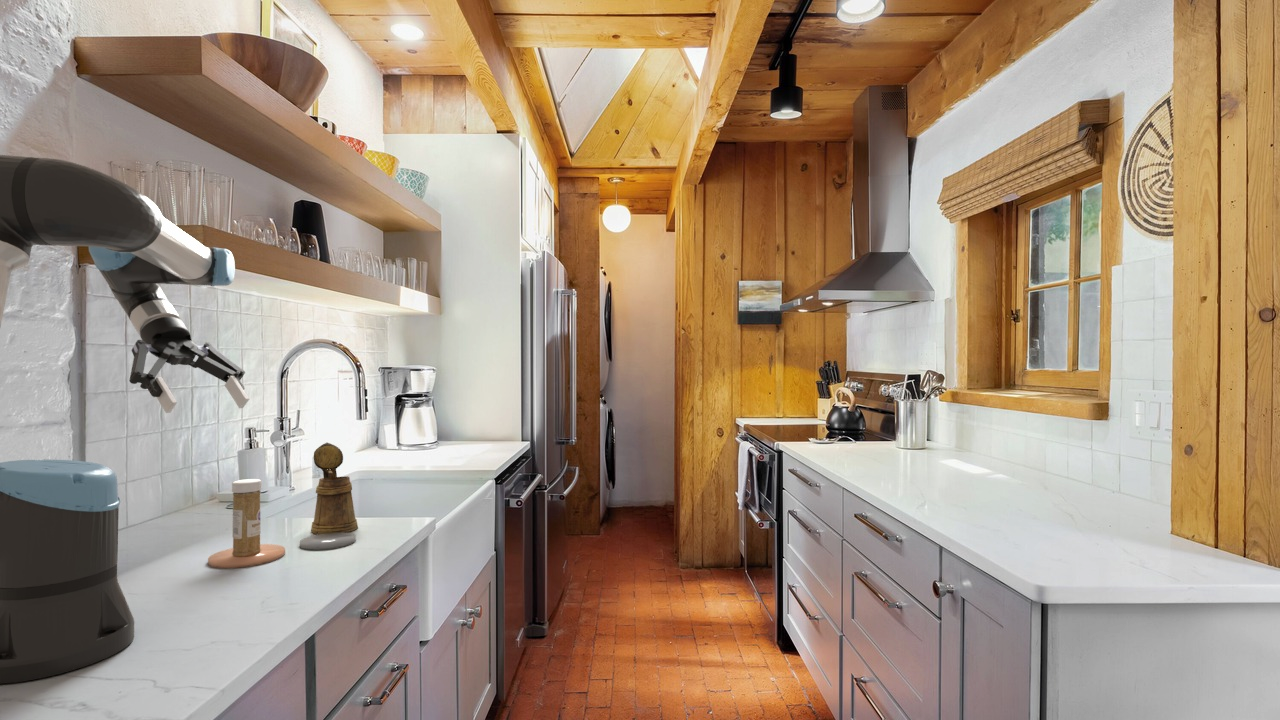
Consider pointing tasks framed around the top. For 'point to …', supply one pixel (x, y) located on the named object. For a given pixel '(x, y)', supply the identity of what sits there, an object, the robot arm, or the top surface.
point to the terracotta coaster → (246, 557)
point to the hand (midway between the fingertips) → (210, 405)
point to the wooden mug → (332, 494)
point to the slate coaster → (327, 541)
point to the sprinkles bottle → (246, 517)
